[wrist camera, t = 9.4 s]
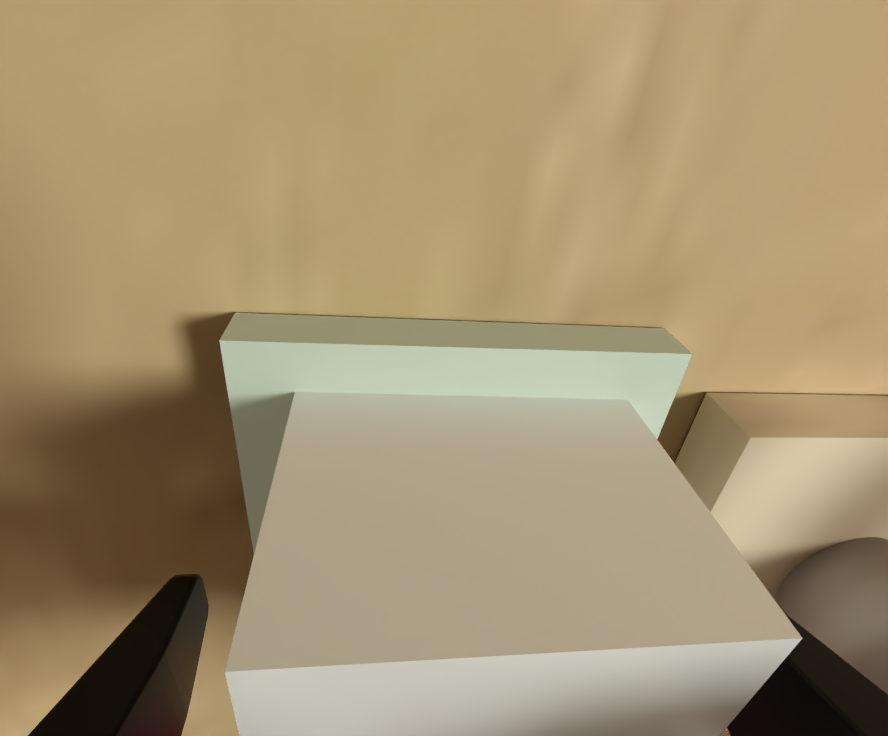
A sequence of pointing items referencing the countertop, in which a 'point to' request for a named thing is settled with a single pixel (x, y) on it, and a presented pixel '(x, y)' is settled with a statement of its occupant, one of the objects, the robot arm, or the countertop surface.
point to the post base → (804, 507)
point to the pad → (428, 371)
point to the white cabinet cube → (492, 578)
